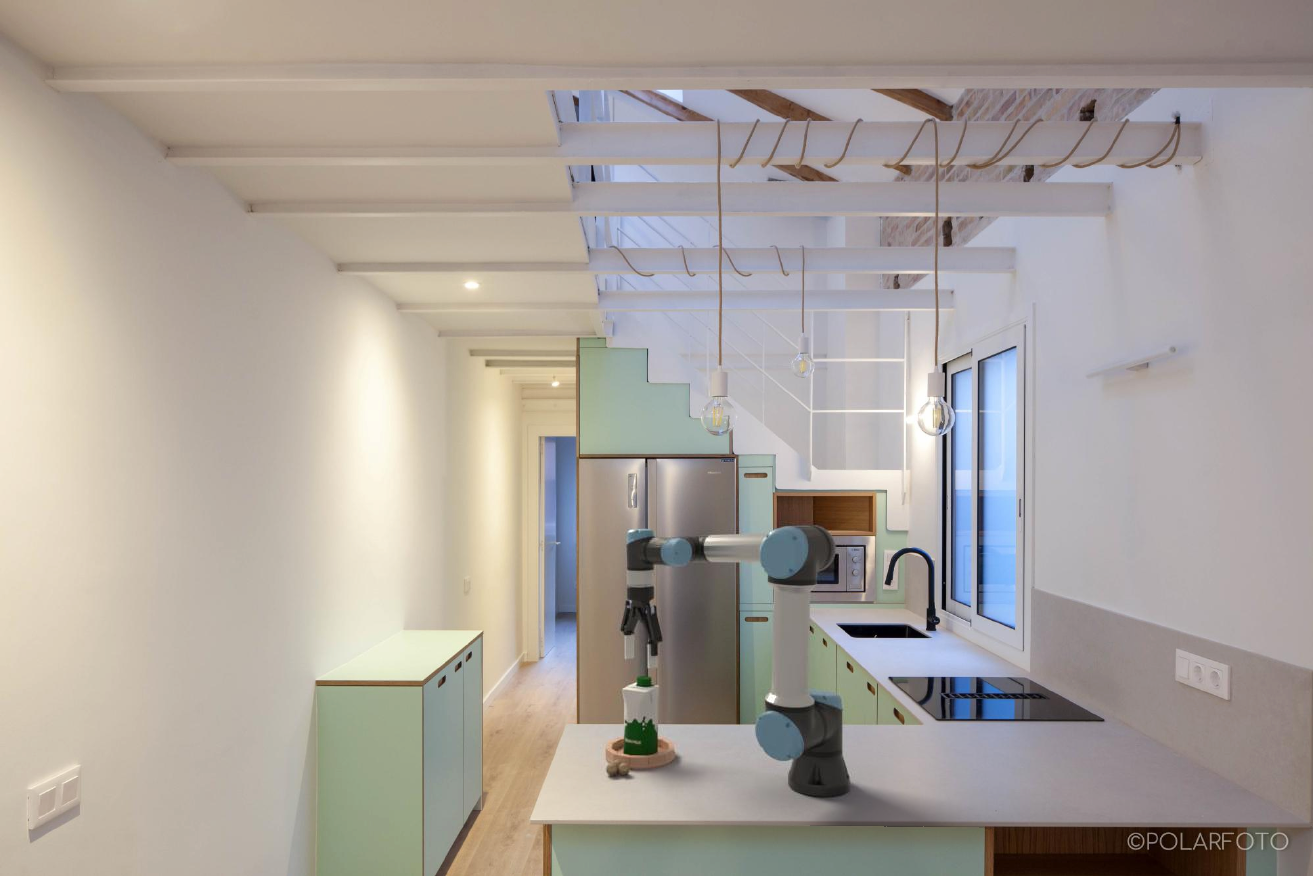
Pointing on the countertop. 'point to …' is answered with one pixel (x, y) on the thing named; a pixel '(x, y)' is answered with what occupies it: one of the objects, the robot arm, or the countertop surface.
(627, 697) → the soya milk
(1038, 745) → the countertop surface
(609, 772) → the bead pile
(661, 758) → the tray
